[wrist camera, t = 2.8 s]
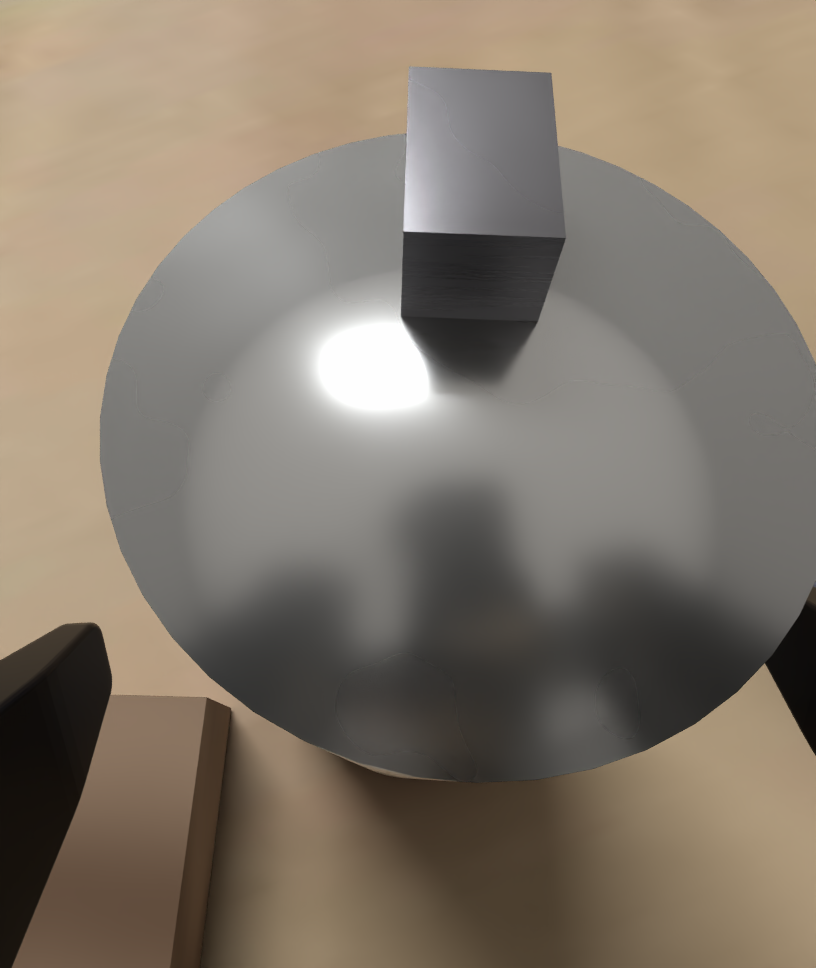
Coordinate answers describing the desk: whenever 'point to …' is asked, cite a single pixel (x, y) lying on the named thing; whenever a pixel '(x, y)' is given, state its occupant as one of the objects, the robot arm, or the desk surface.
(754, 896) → the desk surface
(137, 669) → the desk surface
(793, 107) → the desk surface
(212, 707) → the stand
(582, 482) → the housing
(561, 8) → the desk surface
